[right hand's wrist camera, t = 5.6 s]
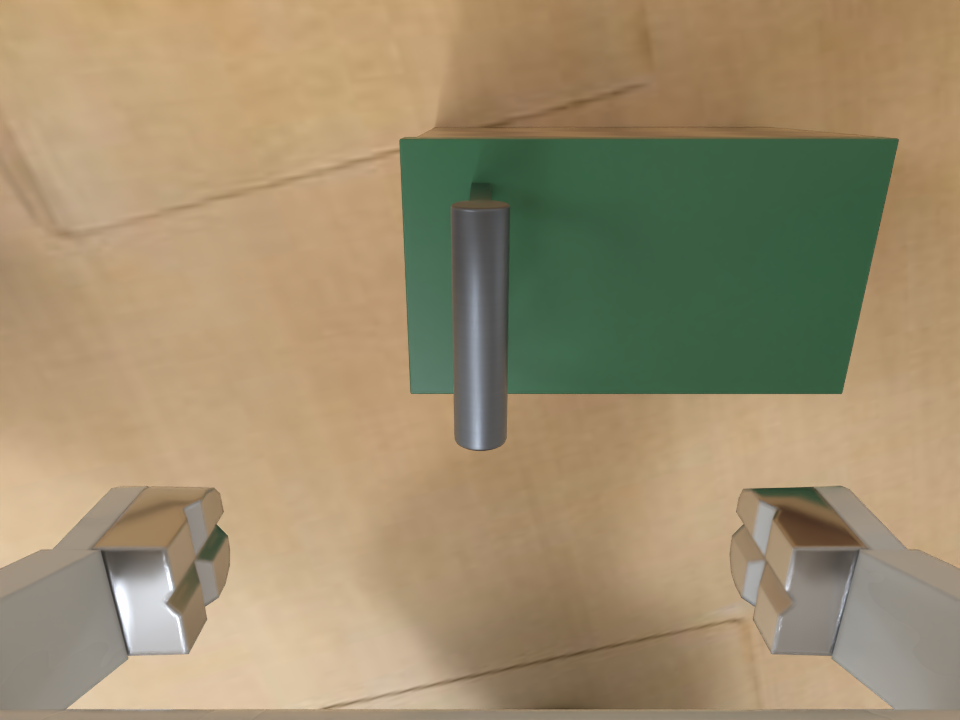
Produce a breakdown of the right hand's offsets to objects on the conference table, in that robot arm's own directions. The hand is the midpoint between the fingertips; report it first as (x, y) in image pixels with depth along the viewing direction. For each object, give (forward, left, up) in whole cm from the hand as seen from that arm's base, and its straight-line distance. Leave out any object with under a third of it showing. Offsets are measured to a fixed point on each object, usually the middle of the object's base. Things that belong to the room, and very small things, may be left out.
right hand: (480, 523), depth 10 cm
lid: (+4, +4, -17) cm, 18 cm away
